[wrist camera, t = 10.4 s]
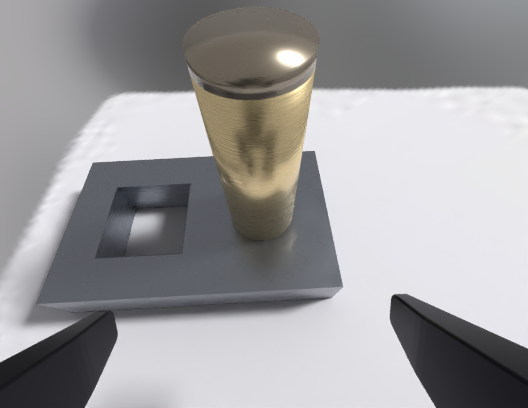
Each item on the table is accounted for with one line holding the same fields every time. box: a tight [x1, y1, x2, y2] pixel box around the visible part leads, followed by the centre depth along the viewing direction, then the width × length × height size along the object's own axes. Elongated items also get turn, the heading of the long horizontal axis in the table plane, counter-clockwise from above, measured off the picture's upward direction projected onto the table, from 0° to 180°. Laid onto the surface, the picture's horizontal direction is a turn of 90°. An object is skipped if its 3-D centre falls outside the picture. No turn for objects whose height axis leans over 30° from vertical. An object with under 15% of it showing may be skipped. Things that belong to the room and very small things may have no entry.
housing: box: [37, 151, 343, 312], centre depth 21 cm, size 12×20×4 cm, turn 93°
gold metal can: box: [182, 7, 319, 240], centre depth 14 cm, size 5×5×12 cm
